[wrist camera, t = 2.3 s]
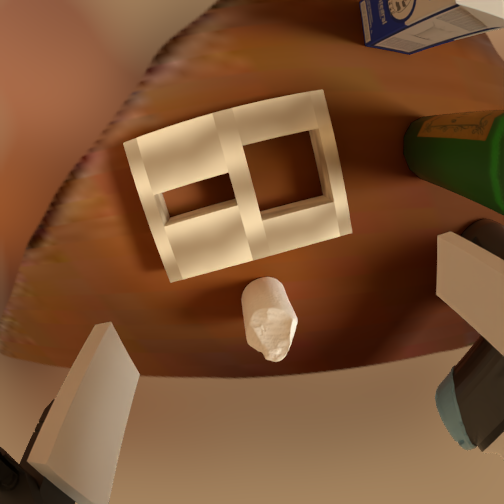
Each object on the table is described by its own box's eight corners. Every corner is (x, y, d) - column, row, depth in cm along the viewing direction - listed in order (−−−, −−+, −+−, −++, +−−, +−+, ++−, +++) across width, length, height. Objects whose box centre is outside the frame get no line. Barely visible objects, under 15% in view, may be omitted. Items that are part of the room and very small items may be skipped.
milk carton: (409, 56, 31) (522, 26, 12) (364, 47, 30) (472, -3, 11) (403, 11, 28) (502, -37, 9) (358, 0, 28) (448, -68, 9)
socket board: (340, 223, 38) (352, 232, 34) (175, 268, 38) (170, 282, 34) (312, 94, 32) (322, 89, 28) (133, 142, 32) (122, 143, 28)
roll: (286, 320, 28) (319, 353, 30) (268, 267, 39) (294, 297, 41) (236, 356, 29) (272, 385, 30) (231, 297, 40) (259, 323, 42)
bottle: (460, 128, 34) (630, 159, 8) (442, 197, 38) (607, 275, 12) (404, 96, 33) (602, 90, 6) (385, 172, 36) (582, 246, 10)
